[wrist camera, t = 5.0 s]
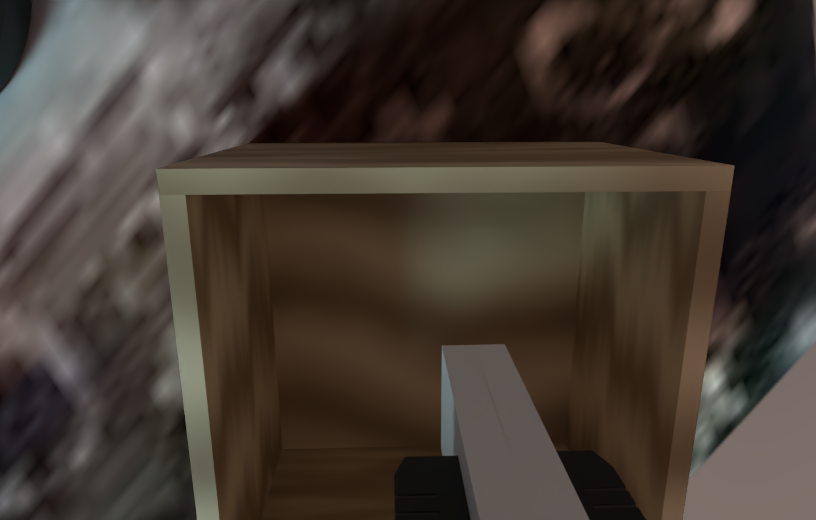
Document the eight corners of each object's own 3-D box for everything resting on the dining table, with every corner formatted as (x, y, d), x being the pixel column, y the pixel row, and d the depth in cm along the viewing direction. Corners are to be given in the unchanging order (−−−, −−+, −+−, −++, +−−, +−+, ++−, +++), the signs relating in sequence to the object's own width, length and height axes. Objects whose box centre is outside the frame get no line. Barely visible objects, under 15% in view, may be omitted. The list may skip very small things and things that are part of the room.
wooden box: (248, 143, 29) (156, 168, 17) (599, 141, 30) (734, 165, 18) (271, 453, 34) (211, 635, 22) (573, 447, 34) (667, 621, 23)
